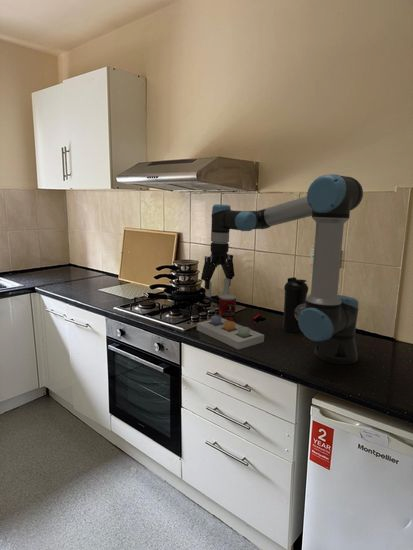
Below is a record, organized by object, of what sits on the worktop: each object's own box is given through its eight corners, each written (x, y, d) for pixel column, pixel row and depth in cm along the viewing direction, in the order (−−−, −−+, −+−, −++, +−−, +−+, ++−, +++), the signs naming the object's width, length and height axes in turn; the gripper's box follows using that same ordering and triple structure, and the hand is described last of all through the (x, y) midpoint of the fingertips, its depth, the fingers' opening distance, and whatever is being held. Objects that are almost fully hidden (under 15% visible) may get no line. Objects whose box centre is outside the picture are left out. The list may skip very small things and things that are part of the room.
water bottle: (292, 335, 165) (297, 282, 160) (276, 327, 173) (280, 277, 169) (309, 331, 171) (314, 280, 166) (292, 324, 179) (296, 275, 174)
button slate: (223, 325, 167) (223, 317, 166) (215, 327, 164) (215, 319, 164) (216, 322, 171) (216, 314, 170) (208, 324, 168) (209, 316, 167)
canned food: (221, 322, 178) (222, 299, 176) (216, 316, 186) (217, 294, 184) (237, 321, 180) (238, 298, 178) (231, 316, 188) (232, 294, 186)
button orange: (236, 331, 161) (237, 322, 160) (228, 333, 158) (229, 324, 157) (229, 328, 164) (230, 320, 163) (221, 330, 161) (222, 321, 161)
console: (263, 341, 156) (264, 334, 155) (238, 349, 147) (238, 342, 147) (221, 324, 176) (221, 317, 175) (196, 329, 167) (196, 323, 166)
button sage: (251, 337, 154) (252, 328, 154) (243, 339, 152) (244, 330, 151) (243, 334, 158) (244, 325, 157) (235, 336, 155) (236, 327, 154)
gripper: (233, 240, 170) (230, 289, 175) (193, 242, 156) (191, 296, 161) (245, 242, 164) (242, 293, 169) (204, 244, 151) (202, 300, 155)
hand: (217, 294), depth 165 cm, fingers open, 9 cm apart
